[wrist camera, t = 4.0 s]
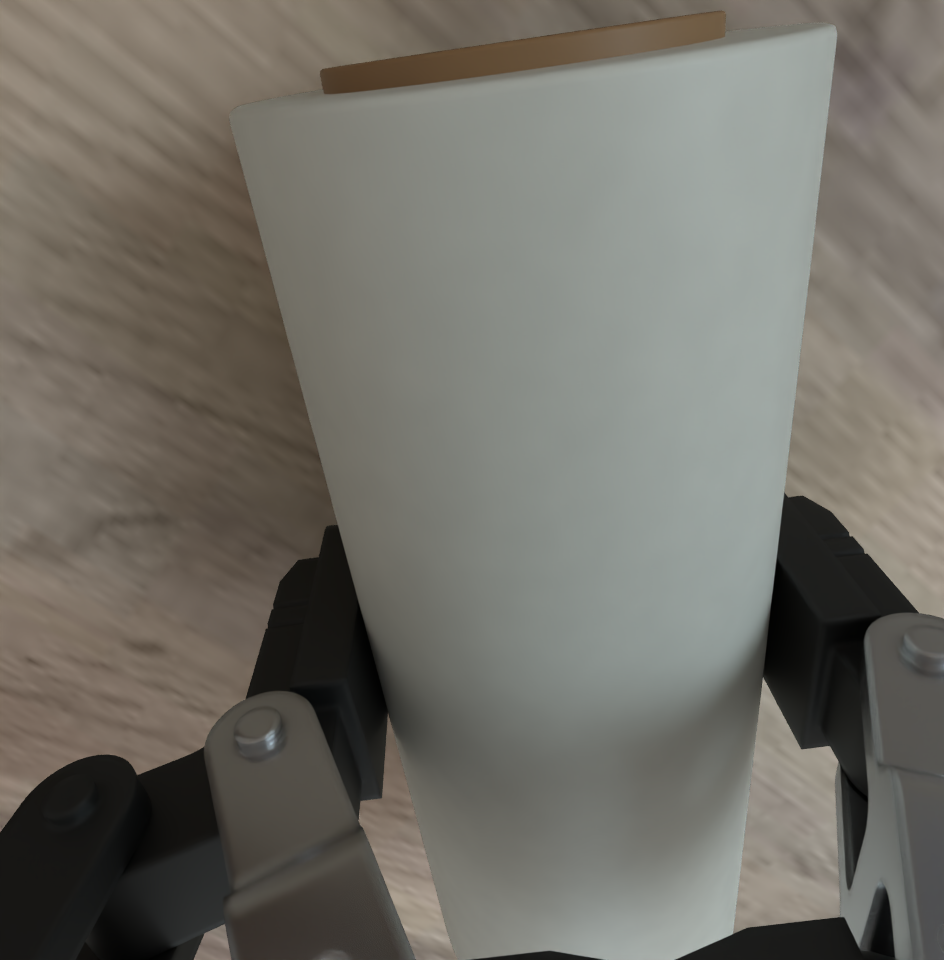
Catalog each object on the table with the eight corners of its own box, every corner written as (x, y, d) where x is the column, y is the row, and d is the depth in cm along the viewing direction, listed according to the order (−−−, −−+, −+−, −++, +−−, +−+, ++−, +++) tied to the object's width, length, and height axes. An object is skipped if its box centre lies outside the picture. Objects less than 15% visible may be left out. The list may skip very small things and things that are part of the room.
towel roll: (711, 12, 9) (1015, -34, 4) (682, 750, 17) (784, 1035, 12) (282, 75, 9) (119, 97, 5) (442, 779, 17) (446, 1073, 12)
